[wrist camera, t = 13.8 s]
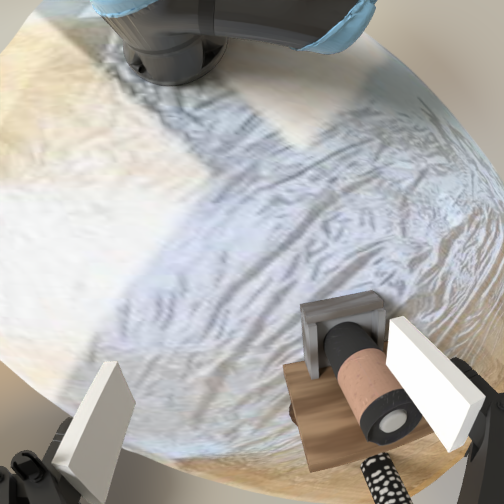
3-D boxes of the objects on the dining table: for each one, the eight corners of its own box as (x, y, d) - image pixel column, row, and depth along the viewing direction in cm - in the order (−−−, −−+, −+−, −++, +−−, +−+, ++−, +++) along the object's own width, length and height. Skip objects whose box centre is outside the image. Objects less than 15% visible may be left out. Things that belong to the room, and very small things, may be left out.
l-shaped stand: (276, 308, 47) (307, 404, 26) (391, 285, 48) (471, 352, 27) (283, 373, 51) (310, 472, 30) (387, 349, 51) (446, 426, 30)
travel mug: (365, 314, 46) (430, 391, 26) (364, 353, 48) (418, 433, 28) (319, 325, 45) (368, 414, 26) (322, 364, 47) (362, 454, 28)
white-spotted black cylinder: (365, 455, 61) (391, 513, 42) (392, 449, 62) (420, 503, 42) (356, 472, 63) (377, 527, 44) (382, 466, 64) (406, 518, 44)
